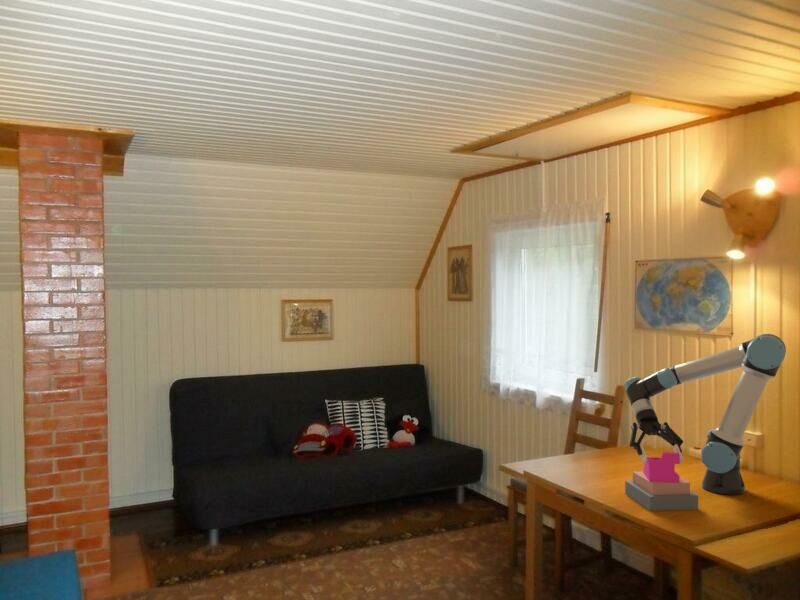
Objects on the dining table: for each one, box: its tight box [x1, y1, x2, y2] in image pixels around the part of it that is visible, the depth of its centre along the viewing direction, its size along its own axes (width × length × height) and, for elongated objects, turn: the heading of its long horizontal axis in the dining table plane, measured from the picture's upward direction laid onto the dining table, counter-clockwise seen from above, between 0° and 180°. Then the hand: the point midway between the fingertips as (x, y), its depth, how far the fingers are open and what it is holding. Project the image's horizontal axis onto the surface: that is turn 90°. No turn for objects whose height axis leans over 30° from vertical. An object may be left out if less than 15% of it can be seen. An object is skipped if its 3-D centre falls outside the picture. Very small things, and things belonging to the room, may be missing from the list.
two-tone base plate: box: [624, 470, 699, 512], centre depth 246 cm, size 18×20×9 cm
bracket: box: [642, 451, 681, 483], centre depth 245 cm, size 12×10×10 cm
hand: (663, 461), depth 244 cm, fingers open, 13 cm apart
